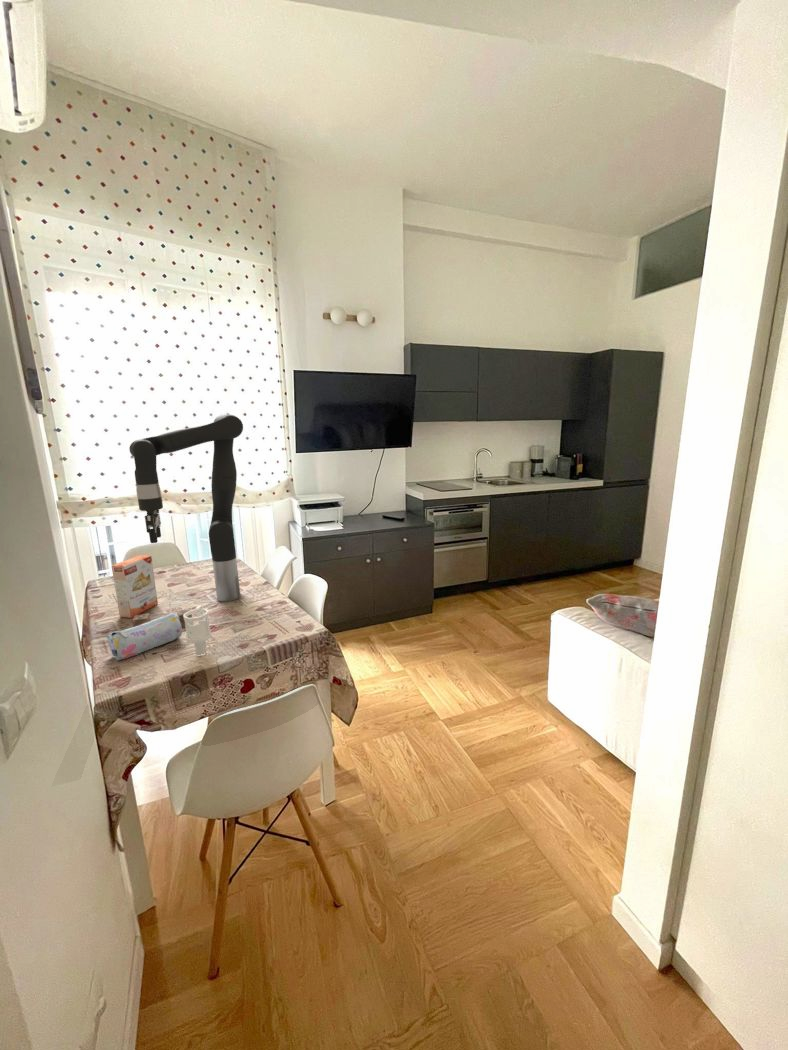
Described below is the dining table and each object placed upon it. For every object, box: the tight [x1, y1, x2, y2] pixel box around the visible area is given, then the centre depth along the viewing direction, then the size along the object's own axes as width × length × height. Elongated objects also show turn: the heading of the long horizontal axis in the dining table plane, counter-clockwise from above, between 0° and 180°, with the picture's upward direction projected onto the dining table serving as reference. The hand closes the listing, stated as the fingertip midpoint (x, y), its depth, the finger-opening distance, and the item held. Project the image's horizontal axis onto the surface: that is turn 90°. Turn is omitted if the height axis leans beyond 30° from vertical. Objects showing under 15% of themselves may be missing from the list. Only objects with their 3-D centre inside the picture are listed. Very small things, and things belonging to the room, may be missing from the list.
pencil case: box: [106, 612, 183, 661], centre depth 139 cm, size 21×9×10 cm, turn 137°
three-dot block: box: [132, 612, 151, 627], centre depth 154 cm, size 4×4×5 cm
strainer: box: [183, 605, 212, 655], centre depth 134 cm, size 7×7×15 cm
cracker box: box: [111, 554, 159, 619], centre depth 167 cm, size 14×6×21 cm, turn 168°
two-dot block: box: [176, 608, 193, 628], centre depth 157 cm, size 4×4×5 cm
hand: (156, 540), depth 157 cm, fingers open, 8 cm apart
